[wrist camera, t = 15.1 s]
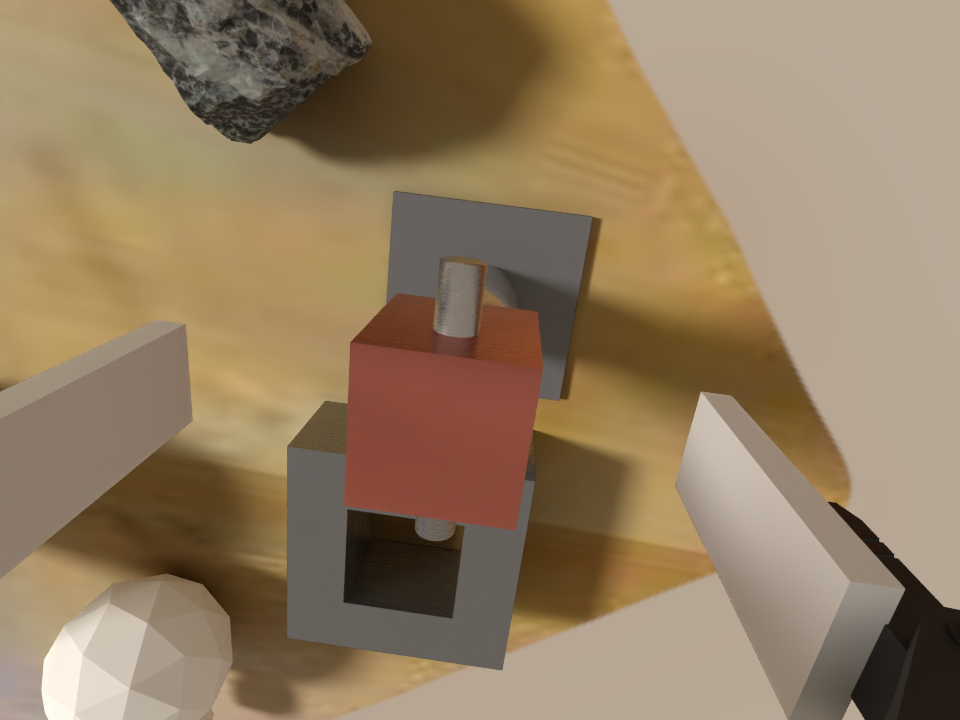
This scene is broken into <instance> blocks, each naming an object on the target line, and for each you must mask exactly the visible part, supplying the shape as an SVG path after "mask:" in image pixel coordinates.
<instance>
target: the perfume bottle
mask: <svg viewBox="0 0 960 720" xmlns="http://www.w3.org/2000/svg"><path fill="white" fill-rule="evenodd" d="M232 663H233V659H232V643H231V628H230V617H229V616H228V614H227V613H226V612H225V611H224V610H223V608H222V607H221V606H220V605H219V604H218V602H217V601H216V600H215V599H214V598H213V596H212V595H211V594H210V593H209V592H208V590H207V589H206V588H205V587H204V586H203V584H200V583H196V582H193V581H190V580H186V579H183V578H180V577H177V576H173V575H170V574H162V575H157V576H151V577H145V578H140V579H134V580H128V581H122V582H117V583H113V584H112V585H111V586H110V587H109V588H107V589H106V590H105V591H104V592H103V593H102V594H100V595H99V596H98V597H97V598H96V599H95V600H93V601H92V602H91V603H90V604H89V605H88V606H87V607H85V608H84V609H83V610H82V611H81V612H80V613H78V614H77V615H76V616H75V617H74V618H73V619H72V620H70V621H69V622H68V623H67V624H66V625H65V626H64V627H63V629H62V630H61V632H60V634H59V635H58V637H57V639H56V641H55V642H54V644H53V646H52V647H51V649H50V651H49V653H48V654H47V656H46V658H45V659H44V667H43V679H42V697H43V703H44V710H45V713H46V715H47V717H48V719H49V720H213V715H214V713H213V711H212V709H211V708H212V706H213V704H214V702H215V700H216V697H217V695H218V693H219V691H220V689H221V687H222V685H223V682H224V680H225V678H226V676H227V674H228V672H229V670H230V667H231V665H232Z"/></svg>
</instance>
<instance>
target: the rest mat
mask: <svg viewBox="0 0 960 720" xmlns="http://www.w3.org/2000/svg"><path fill="white" fill-rule="evenodd" d="M591 223H592V216H585V215H577V214H569V213H562V212H554V211H546V210H538V209H530V208H523V207H515V206H507V205H499V204H491V203H484V202H476V201H468V200H460V199H452V198H445V197H437V196H429V195H421V194H413V193H406V192H398V191H394V192H393V207H392V223H391V238H390V254H389V270H388V286H387V302H386V304H387V303H388V302H389V301H390V300H391V299H392V298H393V297H394V296H395V295H396V294H397V293H401V294H409V295H417V296H424V297H432V298H436V292H437V281H438V270H439V259H440V257H444V256H460V257H469V258H474V259H479V260H482V261H485V262H487V263H488V265H491V266H494V267H496V268H498V269H500V270H501V271H503V272H504V273H505V274H506V275H507V276H508V277H509V278H510V279H511V281H512V282H513V284H514V286H515V289H516V292H517V296H518V309H522V310H529V311H537V312H538V320H539V330H540V341H541V351H542V361H543V373H542V379H541V385H540V391H539V397H538V398H543V399H550V400H558V401H559V399H560V393H561V388H562V382H563V377H564V371H565V366H566V360H567V355H568V349H569V344H570V338H571V333H572V327H573V322H574V316H575V311H576V305H577V300H578V294H579V289H580V283H581V278H582V272H583V267H584V261H585V256H586V250H587V245H588V239H589V234H590V228H591Z"/></svg>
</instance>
